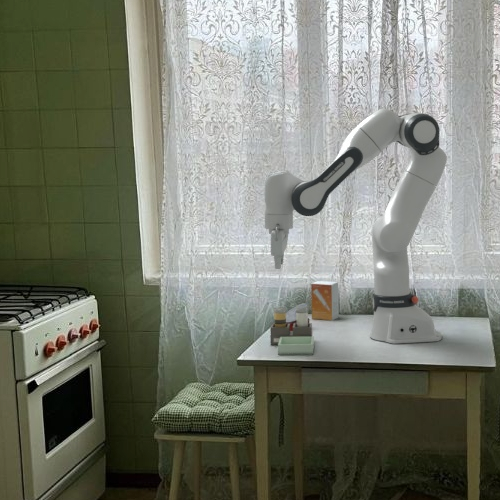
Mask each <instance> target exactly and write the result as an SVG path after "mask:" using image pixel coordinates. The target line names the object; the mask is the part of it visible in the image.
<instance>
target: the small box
mask: <svg viewBox="0 0 500 500" xmlns="http://www.w3.org/2000/svg"><path fill="white" fill-rule="evenodd" d="M310 288H311V291H310V292H311V296H310V297H311V319H313V320H323V321H334V320H336V319H338V318H339V317H340V316H339V315H340V310H339V305H340V304H339V303H340V302H339V282H338V281H326V280H317V281H315V282H314V281H313V282H311V286H310Z"/></svg>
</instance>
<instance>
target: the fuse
mask: <svg viewBox="0 0 500 500" xmlns="http://www.w3.org/2000/svg"><path fill="white" fill-rule="evenodd" d="M308 318H309V309H308V307H307V308H306V307H298V308H296V320H297V327H308Z"/></svg>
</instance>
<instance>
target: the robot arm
mask: <svg viewBox="0 0 500 500" xmlns="http://www.w3.org/2000/svg"><path fill="white" fill-rule="evenodd" d="M395 142H396V143H398V144H400V145H401V146H403V147H406V148H408V149H410V150H411V151H410V152H411V155H410V159H409V162H408V164H407V166H406V167H405V169H404V170H403V173H402V175H401V177H400V178H399V181H398V183H397V184H396V186H395V188H394V190H393V191H392V194H391V196H390V200H389V202H388V204H387V206H386V208H385V211H384V213H383V215H381V216H378V218H376V220H375V221H374V223H373V225H372V226H371V240H372V243H371V244H372V259H373V260H372V262H373V275H374V276H373V277H374V279H373V283H374V287H373V288H374V290H373V293H372V311H373V319H372V327H371V332H370V335H369V338H371V339H373V340H375V341H379V342H386V343H389V344H395V345H396V344H411V343H426V342H428V343H429V342H439V341H441V340H442V339H443V337H442V336H443V335H442V332H441V331H439V330H438V329H436V328H435V323H434V321H433V317H432V316H431V315H430V314H429V313H428V312H426V311H425V310H423V309H422V308H421V307H419V306H418V305H417V304H418V302H419V298H418V296H416V295H414V293H411V292H410V266H409V257H408V246H409V245H410V243H411V241H412V238H413V236H414V234H415V232H416V231H417V228H418V225H419V223H420V220H421V218H422V215H423V213H424V210H425V209H426V206H427V205H428V203H429V201H430V199H431V198H432V196H433V194H434V191H436V188H437V186H438V184H439V182H440V180H441V178H442V176H443V173H444V170H445V167H446V164H447V161H448V157H447V154H446V152H445V151H444V149H443V148H441V147H440V126H439V122H437V120H436V119H435V118H434V117H433V116H431V115H429V114H428V113H421V112H413V113H406V114H403V115H397V114H396V113H395V112H394V111H392V110H391V109H388V108H383V107H382V108H379V109H378V110H376V111H375V112H373V113H372V114H369V116H368V117H366V118H365V119H363V120H362V121H361V122H359V124H358V125H356V126H355V127H354V128H353V129H352V131H350V133H349V134H348V135H347V136H346V137H345V138H344V140H343V141H342V143H341V146H340V148H339V152H338V154H337V156H336V157H335V159H334V160H333V161H332V162H331V163H330V164H329V165H328V166H327V167H326V168H325V169H324V170H323V171H322V172H320V173H319V174H318V175H317V176H316V177H315V178H314V179H312V180H307V179H304V178H301V177H299V176H297V175H295V174H294V173H292V172H291V171H290V170H280V171H275V172H271V173H269V174H268V176H266V180H265V184H264V203H265V209H264V229H266V230H268V235H269V234H270V255H271V256H272V257H273V259H274V260H273V261H274V268H275V270H280V269H282V268H281V267H282V265H283V263H284V254H285V251H286V249H287V246H288V241H289V234H290V230H291V229H293V228H294V211H295V212H296V213H298V214H299V215H301V216H304V217H312V216H316V215H317V214H319V213H320V212H322V210H323V209H324V207H325V205H326V202H327V200H328V198H329V196H330V195H331V194H332V192H333V191H335V190H336V188H337V187H339V186H340V185H341V183H343V182H344V180H346V179H347V178H348V177H349V176H350V175H351V174H352V173H354V172H356V171H357V170H358V169H360V168H362V167H364V166H365V165H366V164H368V163H370V162H371V161H373V160H374V159H375V158H376V157H378V156H379V155H380V154H381V153H382V152H383V151H384V150H385V149H386V148H387V147H388V146H390V145H391V144H393V143H395Z"/></svg>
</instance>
